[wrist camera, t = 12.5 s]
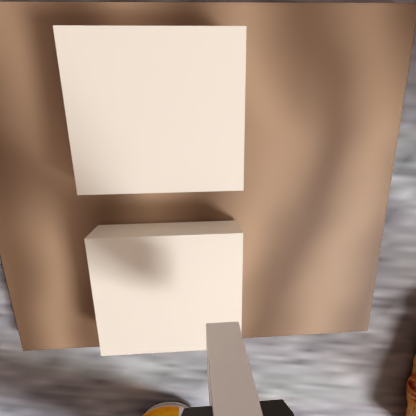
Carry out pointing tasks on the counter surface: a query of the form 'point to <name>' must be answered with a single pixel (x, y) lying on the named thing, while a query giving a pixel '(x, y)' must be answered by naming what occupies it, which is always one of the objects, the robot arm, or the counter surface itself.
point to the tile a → (154, 107)
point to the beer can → (166, 409)
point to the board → (253, 163)
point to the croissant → (411, 391)
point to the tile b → (164, 283)
